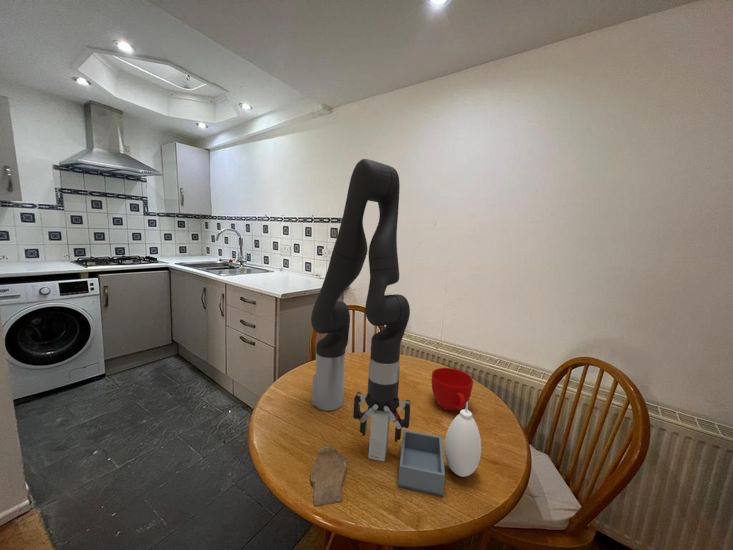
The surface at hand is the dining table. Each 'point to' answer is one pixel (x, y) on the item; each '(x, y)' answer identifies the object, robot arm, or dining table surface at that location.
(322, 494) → the pottery shard
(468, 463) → the sauce bottle
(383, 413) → the skincare box
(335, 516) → the dining table surface
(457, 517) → the dining table surface
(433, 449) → the bin
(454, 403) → the ceramic cup
